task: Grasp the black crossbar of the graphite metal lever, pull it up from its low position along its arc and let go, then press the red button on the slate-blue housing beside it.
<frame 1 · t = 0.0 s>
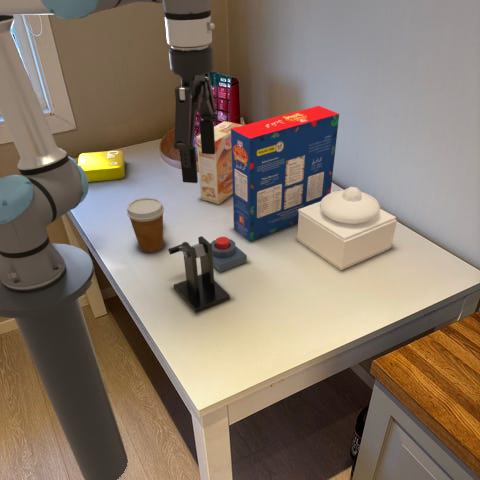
hand: (200, 167, 96), 30 cm above the table, tool pointing down, fingers open, 13 cm apart
bracket: (201, 294, 114), on the table
lever: (188, 249, 111), point 10 cm above the table, hinge at -25.0°
disposable coffee cup: (151, 246, 130), on the table
white domed box: (342, 244, 129), on the table
button: (222, 243, 122), point 4 cm above the table, slide at 0.1 cm
button box: (223, 258, 125), on the table
blue cereal box: (282, 221, 139), on the table
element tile: (103, 172, 167), on the table
coffeecake box: (222, 193, 153), on the table
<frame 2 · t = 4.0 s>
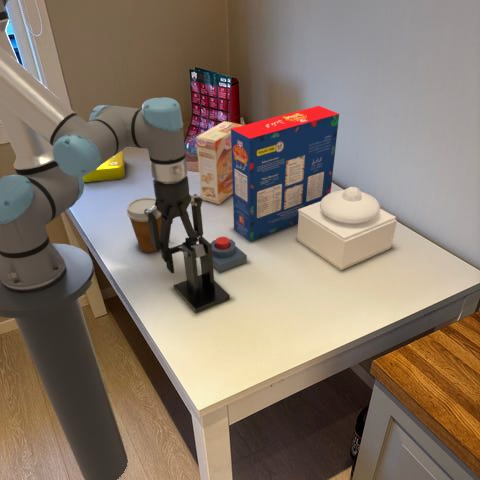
hand: (181, 266, 119), 2 cm above the table, tool pointing down, fingers closed on lever, 5 cm apart
lever: (188, 249, 111), point 10 cm above the table, hinge at -25.0°, touching gripper
everything else where it was.
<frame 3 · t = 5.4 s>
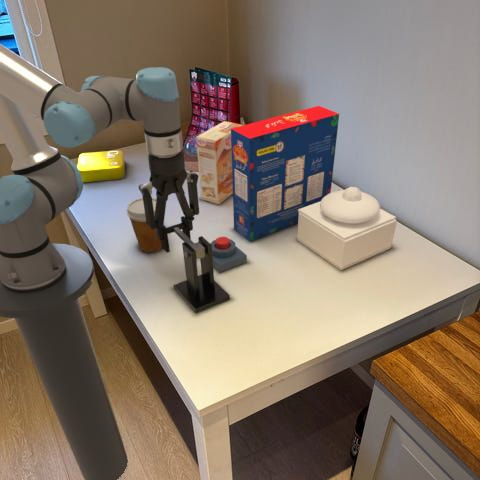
hand: (176, 246, 116), 7 cm above the table, tool pointing down, fingers closed on lever, 5 cm apart
lever: (186, 239, 109), point 12 cm above the table, hinge at 1.7°, touching gripper
everything else where it was.
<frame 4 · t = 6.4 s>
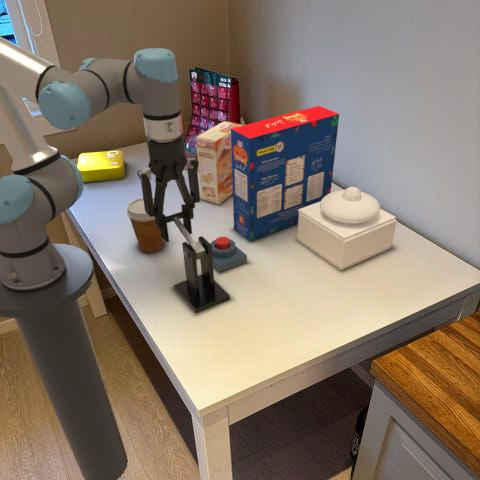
hand: (176, 235, 114), 11 cm above the table, tool pointing down, fingers open, 5 cm apart
lever: (186, 234, 108), point 14 cm above the table, hinge at 18.2°
everything else where it was.
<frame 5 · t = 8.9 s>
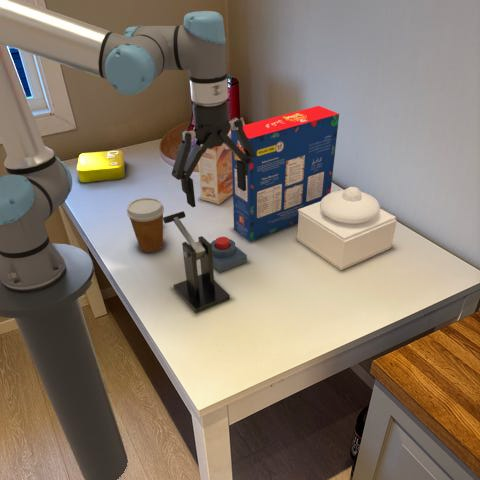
hand: (217, 196, 113), 18 cm above the table, tool pointing down, fingers open, 13 cm apart
nothing on the table moved.
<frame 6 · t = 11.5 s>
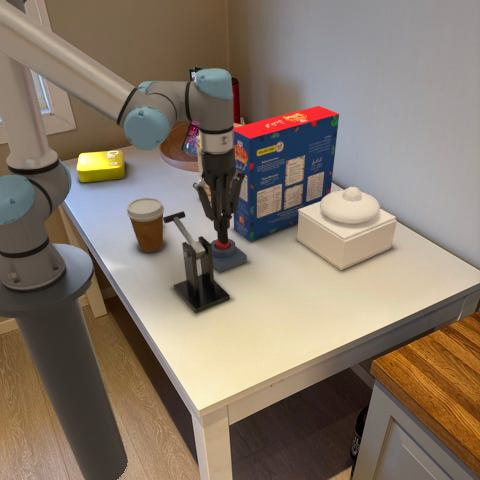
hand: (222, 240, 122), 5 cm above the table, tool pointing down, fingers closed
button: (222, 244, 122), point 4 cm above the table, slide at -0.3 cm, touching gripper
everything else where it was.
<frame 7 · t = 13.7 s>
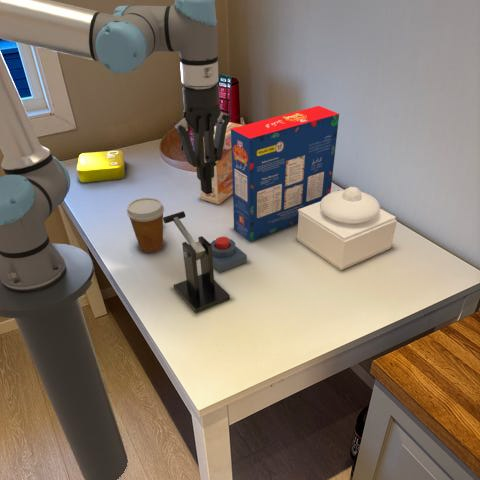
hand: (206, 191, 114), 18 cm above the table, tool pointing down, fingers closed
button: (222, 243, 122), point 4 cm above the table, slide at 0.1 cm
everything else where it was.
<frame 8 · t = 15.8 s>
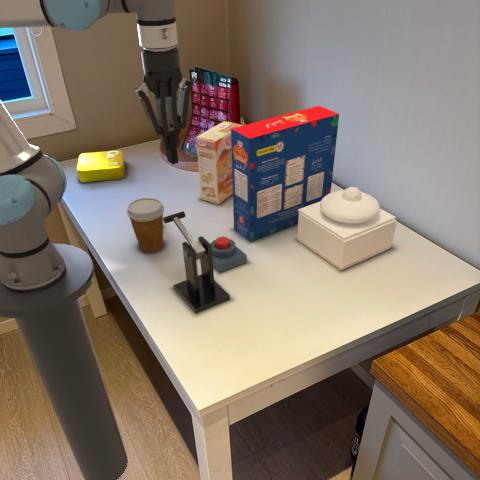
hand: (172, 161, 112), 24 cm above the table, tool pointing down, fingers closed
nothing on the table moved.
at the end: lever at +18° (first picture: -25°); button pushed in 1.0 cm at the most during the clip, back to where it started at the end; button slide at 0.1 cm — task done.
